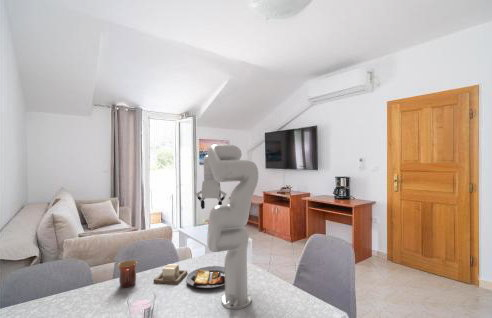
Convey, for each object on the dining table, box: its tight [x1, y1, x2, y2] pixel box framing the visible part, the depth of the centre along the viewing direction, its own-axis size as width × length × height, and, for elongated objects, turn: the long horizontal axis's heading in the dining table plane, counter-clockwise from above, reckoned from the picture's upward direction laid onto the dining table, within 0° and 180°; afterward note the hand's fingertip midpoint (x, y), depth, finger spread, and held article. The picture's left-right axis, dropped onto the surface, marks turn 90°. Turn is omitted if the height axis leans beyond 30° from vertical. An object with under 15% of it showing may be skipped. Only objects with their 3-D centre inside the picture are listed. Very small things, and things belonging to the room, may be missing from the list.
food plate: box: [185, 265, 225, 289], centre depth 129 cm, size 25×23×4 cm
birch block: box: [162, 263, 180, 280], centre depth 132 cm, size 6×6×6 cm
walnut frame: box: [153, 269, 188, 285], centre depth 132 cm, size 12×12×2 cm
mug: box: [117, 259, 138, 288], centre depth 124 cm, size 12×9×10 cm
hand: (211, 208), depth 142 cm, fingers open, 9 cm apart
